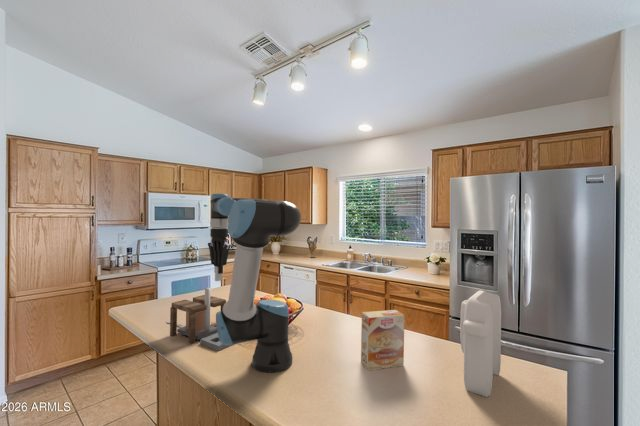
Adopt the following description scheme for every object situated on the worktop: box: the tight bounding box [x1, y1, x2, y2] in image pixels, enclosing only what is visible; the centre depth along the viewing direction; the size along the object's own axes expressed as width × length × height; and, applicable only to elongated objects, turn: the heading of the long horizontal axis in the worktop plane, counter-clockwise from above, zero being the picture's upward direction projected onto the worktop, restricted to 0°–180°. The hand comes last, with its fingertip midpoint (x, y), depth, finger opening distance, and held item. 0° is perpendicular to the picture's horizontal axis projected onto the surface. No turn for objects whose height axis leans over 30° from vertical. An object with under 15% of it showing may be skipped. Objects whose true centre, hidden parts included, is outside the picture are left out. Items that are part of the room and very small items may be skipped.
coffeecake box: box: [360, 309, 405, 371], centre depth 117 cm, size 15×7×20 cm, turn 105°
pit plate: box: [200, 333, 232, 352], centre depth 136 cm, size 12×14×2 cm
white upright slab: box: [459, 289, 503, 398], centre depth 107 cm, size 27×11×30 cm, turn 141°
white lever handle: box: [177, 287, 218, 341], centre depth 145 cm, size 16×12×21 cm
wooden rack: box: [165, 294, 227, 345], centre depth 150 cm, size 36×19×15 cm, turn 57°
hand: (218, 280), depth 138 cm, fingers closed
